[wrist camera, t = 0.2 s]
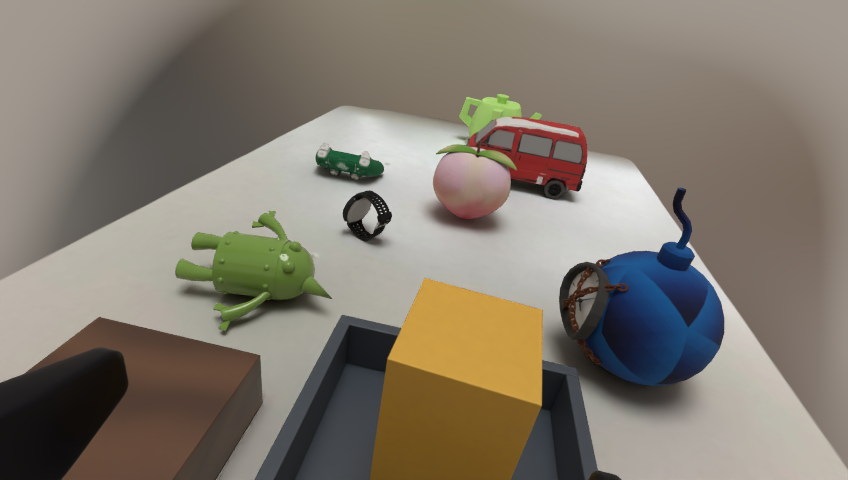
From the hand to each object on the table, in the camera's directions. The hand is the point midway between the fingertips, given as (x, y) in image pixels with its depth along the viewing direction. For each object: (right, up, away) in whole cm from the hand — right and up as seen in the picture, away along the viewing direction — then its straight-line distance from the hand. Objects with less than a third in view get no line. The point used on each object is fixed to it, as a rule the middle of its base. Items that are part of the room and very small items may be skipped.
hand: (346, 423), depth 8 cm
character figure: (-12, -1, +28) cm, 30 cm away
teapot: (+15, +21, +75) cm, 79 cm away
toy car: (+16, +12, +59) cm, 62 cm away
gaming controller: (-9, +12, +52) cm, 54 cm away
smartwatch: (-5, +3, +38) cm, 38 cm away
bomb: (+17, -7, +27) cm, 32 cm away
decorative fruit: (+6, +6, +46) cm, 47 cm away
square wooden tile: (-14, -8, +15) cm, 22 cm away
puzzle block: (+2, -10, +15) cm, 18 cm away
